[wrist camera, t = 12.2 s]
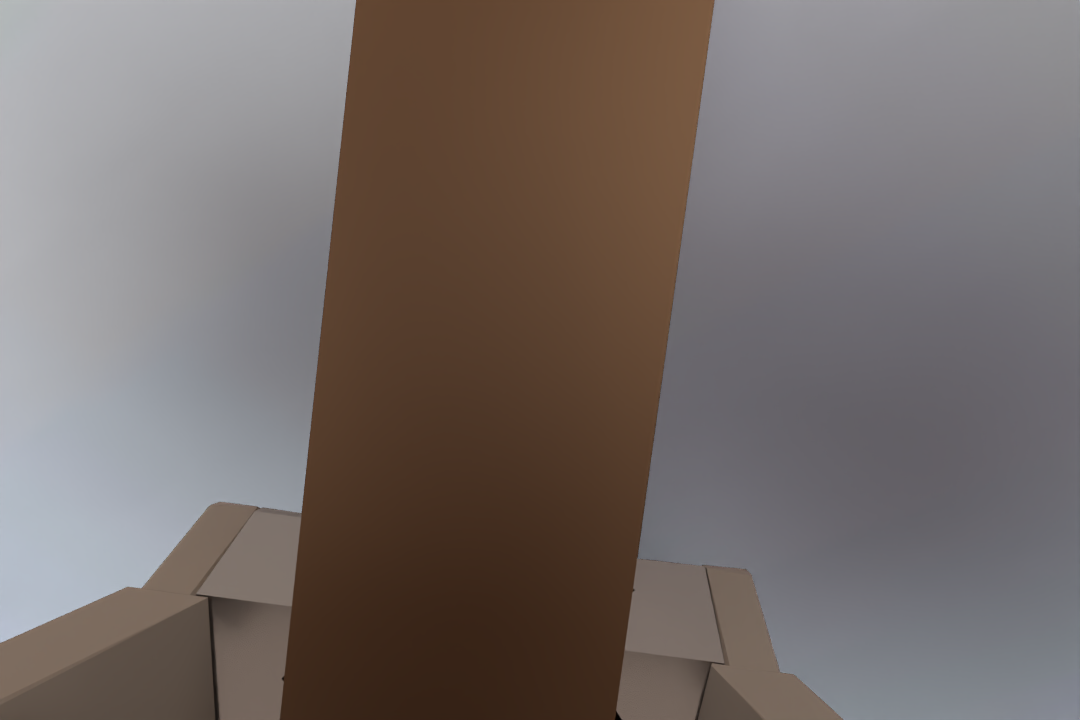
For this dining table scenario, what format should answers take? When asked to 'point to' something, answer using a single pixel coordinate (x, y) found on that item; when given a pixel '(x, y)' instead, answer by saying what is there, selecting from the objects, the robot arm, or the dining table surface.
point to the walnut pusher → (491, 356)
